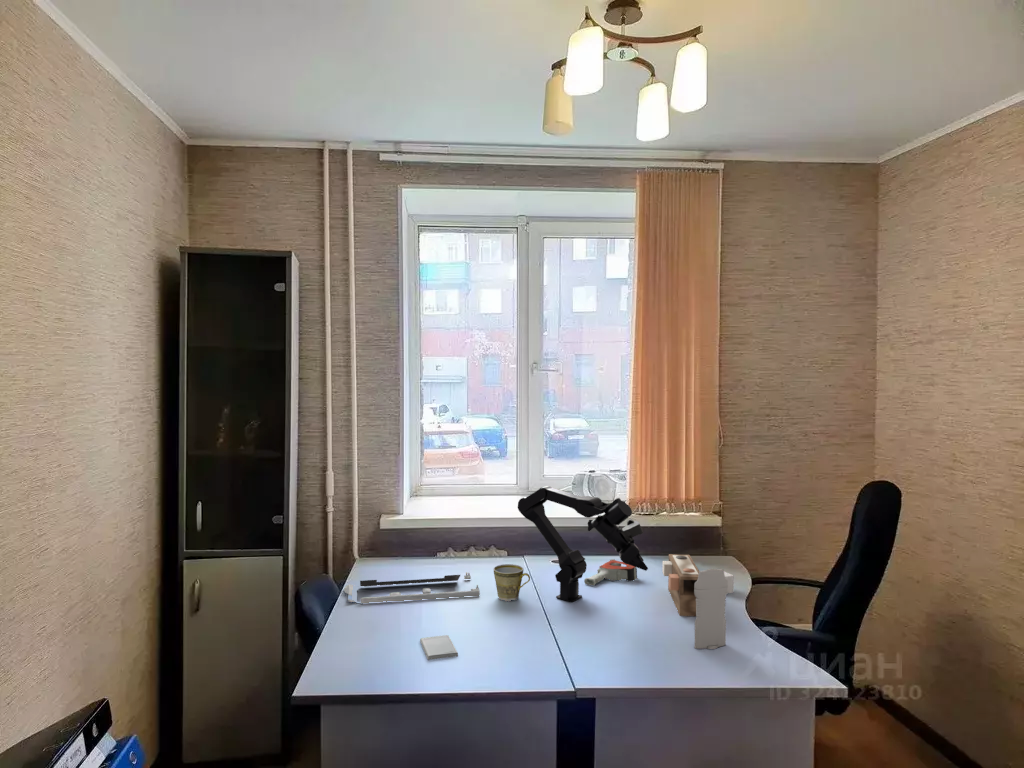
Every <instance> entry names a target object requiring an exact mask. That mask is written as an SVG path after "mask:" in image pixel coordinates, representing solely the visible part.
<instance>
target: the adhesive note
mask: <svg viewBox="0 0 1024 768" xmlns="http://www.w3.org/2000/svg"><path fill="white" fill-rule="evenodd" d="M724 575H725V579H727V580H728V592H727V594H733V593H734V587H735V586H734V583H735V582H734V579H735V578H734V577H735V576H734V575H733V574H732V573H729V572H726V571H724Z"/></svg>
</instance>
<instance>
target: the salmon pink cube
mask: <svg viewBox="0 0 1024 768" xmlns="http://www.w3.org/2000/svg"><path fill="white" fill-rule="evenodd" d="M669 588H670V590H678V591H679V576H678V574H669Z"/></svg>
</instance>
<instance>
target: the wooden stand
mask: <svg viewBox="0 0 1024 768" xmlns="http://www.w3.org/2000/svg"><path fill="white" fill-rule="evenodd" d="M668 561H671V562H672V574H678V576H679V591H678V590H670V588H669V576H667V577H668V581H667V583H668V584H667V585H668V586H667V587H668V588H667V590H668V592H670V593H669V595H670V594H671V595H670V597H671V599H672V601H674V602H673V604H674V606H675V608H677V609H676V611H677V610H678V611H677V613H678V615H679V617H697V616H696V604H697V603H696V599H697V598H696V597H695V594H694V583H695V582H696V581H697V580H698V576H699V571H700V570H699V568H698V567H697V565H696V563H695V562H694V560H693V558H692V557H691V555H690V554H677V553H675V554H674V553H673V554H672V553H670V554H669V553H668Z"/></svg>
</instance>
